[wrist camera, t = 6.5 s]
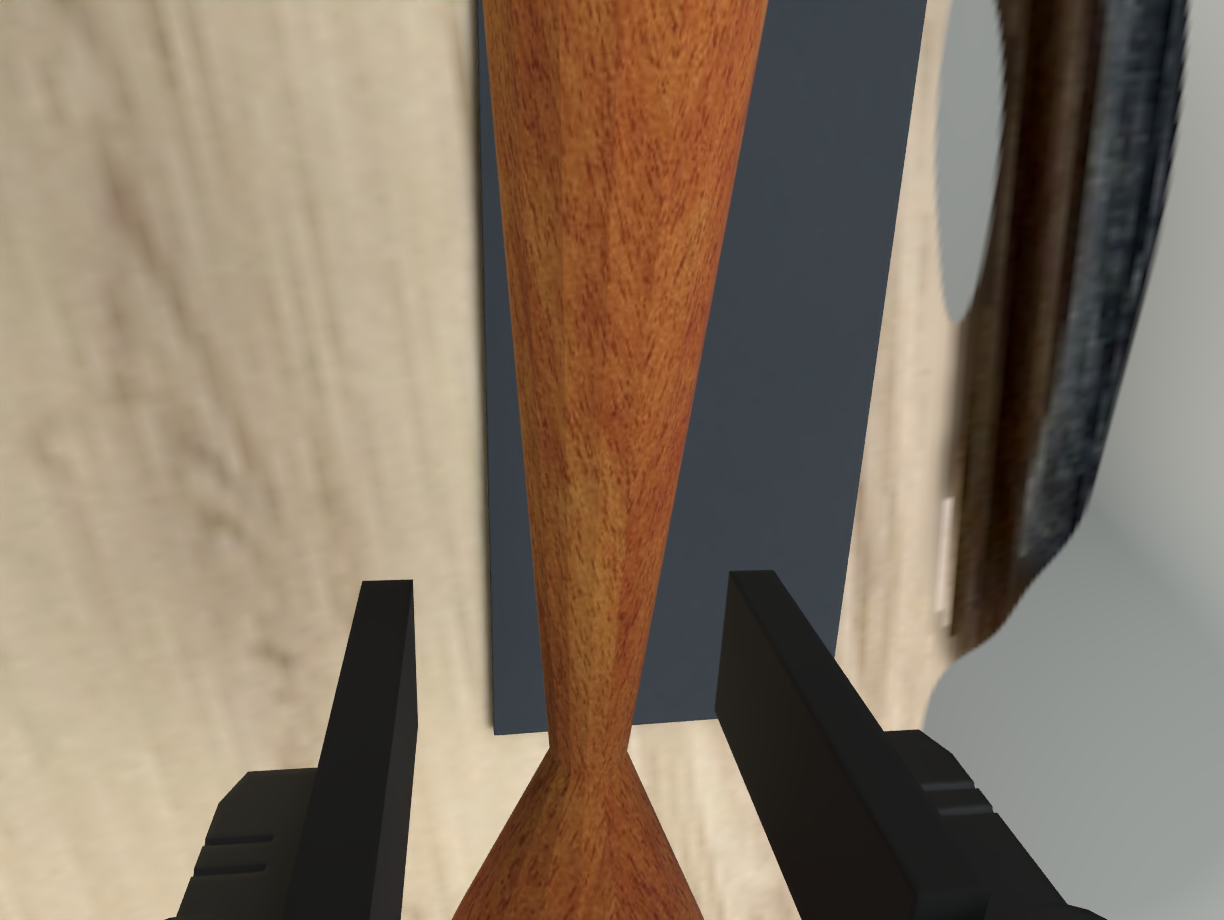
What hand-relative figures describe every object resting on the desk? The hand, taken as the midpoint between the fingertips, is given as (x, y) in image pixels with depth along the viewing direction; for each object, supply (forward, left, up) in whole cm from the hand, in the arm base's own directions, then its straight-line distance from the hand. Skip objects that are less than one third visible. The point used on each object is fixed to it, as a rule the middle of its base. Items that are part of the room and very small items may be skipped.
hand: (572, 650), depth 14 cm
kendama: (0, 0, 0) cm, 0 cm away
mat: (0, +5, -13) cm, 14 cm away
